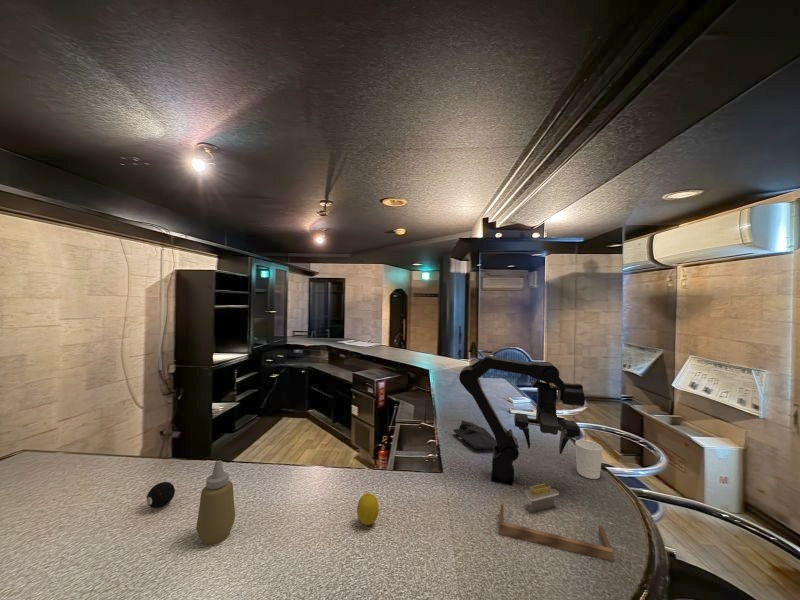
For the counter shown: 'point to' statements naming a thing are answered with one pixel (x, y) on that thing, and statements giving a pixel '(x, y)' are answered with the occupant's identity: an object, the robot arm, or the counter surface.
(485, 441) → the dark slate chunk
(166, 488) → the black ovoid
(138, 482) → the counter surface
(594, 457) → the white cup
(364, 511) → the lemon
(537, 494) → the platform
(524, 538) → the frame
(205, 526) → the squeeze bottle
